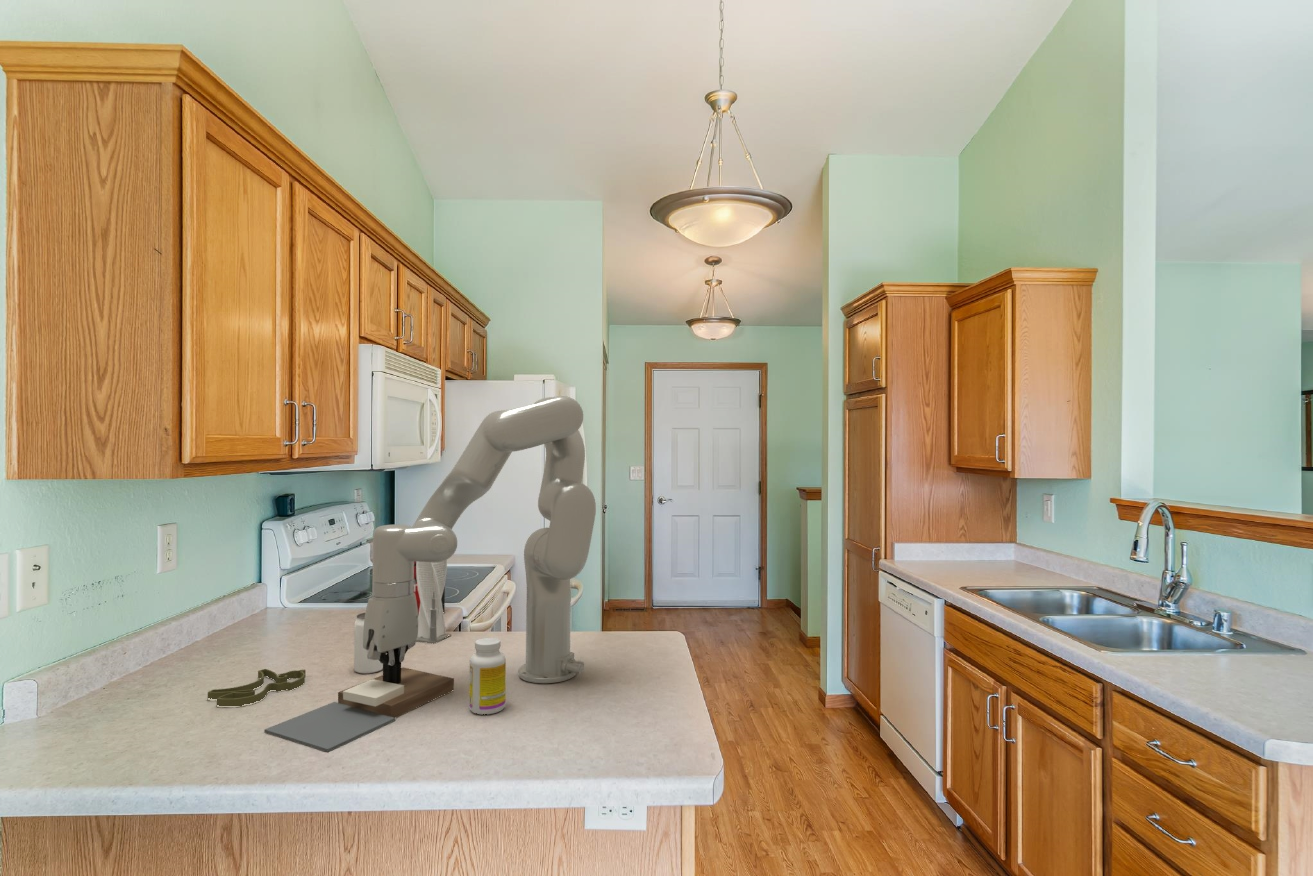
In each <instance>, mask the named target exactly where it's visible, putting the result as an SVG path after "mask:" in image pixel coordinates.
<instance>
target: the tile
mask: <svg viewBox="0 0 1313 876" xmlns="http://www.w3.org/2000/svg"><path fill="white" fill-rule="evenodd" d="M366 681H367V682H366ZM366 681H364V682H362V684H361V683H358V684H359V685H358V684H356V685H357V686H356V685H354V686H355V687H353V686H351V687H352V688H351V687H349V688H350V689H348V688H346V689H347V690H345V689H344V690H345V691H343V690H342V691H343V699H344V700H348V701H353V702H357V703H362V704H366V705H371V706H375V707H376V706H378V705H380V704H382V703H384V702H386V701H388V700H391V699H393V698H395V697H397V696H399V695H402V694H404V685H399V684H394V683H390V682H385V681H380V680H375V679H374V678H372V679H370V680H366Z"/></svg>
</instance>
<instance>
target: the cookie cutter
mask: <svg viewBox="0 0 1313 876" xmlns="http://www.w3.org/2000/svg"><path fill="white" fill-rule="evenodd" d="M306 674H307V673H306V669H299V670H298V669H297V670H289V671H286V672H283V673H279V674H278V673H276V672H274V671H273V670H271V669H269V668H268V669H267V668H263V669H260V670H257V679H258V678H261V679H258V680H256V681H253V682H250V683H247V684H243V685H239V686H233V687H229V688H218V689H216V688H215V689H211V690H209V691H207V699H208V698H210V699H211V698H212V699H217V701H216V706H217V705H219V706H242V705H244V704H250V703H254V702H256V701H260V700H261V699H263V698H264V697H265V695H266V694H267V692H268V691H270V690H276V691H281V690H285V691H290V690H292V689H294V688H297V687H298V688H300V687H302V686H304V684H305V682H306V681H305V679H306ZM264 676H268V677H269V678H268V679H270V678H272V679H274V680H275V681H276V682H275V681H274V682H270V683H267V684H266V685H265V686H264V687H263V689H262V690H261V691H260V692H259V693H256V690H253V689H254V688H257V687H259V686H261V685H262V684H263V683H264V684H265V680H264V678H265V677H264ZM289 678H293V679H295V680H294V681H288V680H287V679H289ZM296 678H298V679H296ZM272 679H271V680H272ZM289 680H290V679H289ZM303 683H304V684H303ZM264 684H263V685H264ZM301 685H302V686H301ZM299 686H300V687H299ZM261 687H262V686H261ZM298 688H297V689H298ZM286 689H288V690H286ZM294 690H295V689H294ZM292 691H293V690H292ZM281 692H282V691H281ZM267 695H268V694H267ZM267 695H266V696H267ZM265 698H266V697H265ZM265 698H264V699H265ZM264 699H263V700H264ZM260 702H261V701H260Z"/></svg>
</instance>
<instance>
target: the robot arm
mask: <svg viewBox="0 0 1313 876" xmlns="http://www.w3.org/2000/svg"><path fill="white" fill-rule="evenodd" d="M583 421H584V411H583V409H582V406H581V405H580V403H579V402H578V401H577V400H575V399H574V398H572V397H570V396H565V395H558V396H551V397H550V396H549V397H543V398H540V399H537V400H536V401H535V402H534V403H533V404H529V405H525V406H521V407H517V408H511V409H504V410H502V409H501V410H496V411H493V412H491V413H488V415H486V416H485V417H484V419H483V420H482V421H481V423H479V426H478V427H477V429H476V430H475V432H474V434H473V436H472V437H471V438H470V441H469V442H468V443H467V446H466V447H465V449H464V451H463V452H462V454H461V455H460V457H459V459H458V460H457V462H456V463H455V465H454V467H453V468H452V469H451V471H449V473H448V474H447V475H446V477H445V478H444V480H443V481H442V482H441V483H440V485H439V486H438V487H437V488H436V490H434V492H433V494H432V495H431V496H430V498H429V499H428V501H427V502H426V504H425V505H424V507H423V508H422V510H421V512H420V514H419V515H418V516H417V518H416V519H415V521H414V523H413V526H410V525H407V524H400V523H399V524H384V525H380V526H377V527H376V528H375V530H374V531H373V535H372V584H371V587H372V590H371V593H372V594H371V597H370V598H368V601H367V605H366V610H365V612H364V613H365V620H364V630H363V648H364V649H366V650H369V652H368V659H372V660H379V661H380V663H381V664H383V670H382V675H383V681H385V682H390V683H394V684H399V683H401V668H402V663H403V662H404V661H405V658H406V657H405V656H406V654H407V652H408V650H410V649H412V648H413V647H414V646H416V641H415V640H416V639H417V637H418V608H417V601H416V596H415V593H414V585H415V584H416V580H415V579H414V561H418V562H442V561H445V560H447V561H448V560H449V559H451V558H452V556H454V554H455V553H456V551H457V548H458V537H457V535H456V533H455V532H454V531H453V528H454V526H455V525H456V523H457V521H458V520H459V518H460V517H461V515H462V514H463V513H464V511H465V510H466V509H467V508H468V507H469V506H470V505H471V504H473V503H474V502H475V501H477V500H478V499H480V498H482V497H483V496H484V495H485V494H487V493H488V492H489V491H490V489H492V487H493V485H494V483H495V481H496V480H497V478H498V476H499V474H500V473H501V471H502V469H503V467H505V465H506V463H507V461H508V460H509V458H510V456H511V454H512V453H513V452H514V453H515V452H519V451H523V450H528V449H531V448H536V447H539V446H542V445H544V447H545V464H544V469H543V473H542V474H543V475H542V479H541V484H540V489H539V494H538V497H537V500H538V501H537V507H538V511H539V513H540V514H541V516H542V517H543V518H545V519H546V520H548V521H549V527H542V528H539V529H537V530H535V531H534V532H532V533H531V534H529V536H528V538H527V539H526V543H525V544H524V550H523V561H524V562H523V563H524V569H525V570H524V571H525V577H526V578H525V579H526V606H525V607H526V608H525V609H526V613H525V614H526V618H525V623H526V625H525V626H526V627H525V663H524V664H522V665H520V667H519V668H518V677H519V678H520V679H521V680H523V681H525V682H529V683H535V684H553V683H554V684H555V683H560V682H565V681H568V680H570V679H572V678H574V677H575V676H576V675H577V674H579V675H581V674H582V673H583V672H584V666H585V662H584V661H582V660H576V659H575V652H571V610H572V609H571V606H572V605H571V604H572V602H571V601H572V590H571V588H572V587H571V580H572V579H573V578H575V577H577V576H578V575H579V574H580V573H581V572H582V570H583V569H584V567H585V565H586V563H587V560H588V557H589V553H590V547H591V542H592V538H593V537H592V536H593V530H594V526H595V525H594V524H595V519H596V513H597V508H596V506H597V505H596V499H595V496H594V493H593V492H592V490H591V489H590V488H589V487H588V486H587V485H586V484H584V483H582V482H583V475H584V468H585V462H586V461H585V460H586V450H585V444H584V443H585V442H584V440H583V437H582V435H581V432H580V431H579V430H580V428H581V427H582V425H583Z"/></svg>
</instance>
